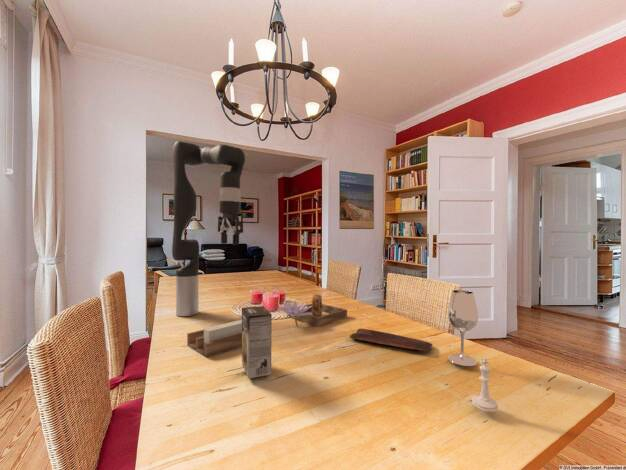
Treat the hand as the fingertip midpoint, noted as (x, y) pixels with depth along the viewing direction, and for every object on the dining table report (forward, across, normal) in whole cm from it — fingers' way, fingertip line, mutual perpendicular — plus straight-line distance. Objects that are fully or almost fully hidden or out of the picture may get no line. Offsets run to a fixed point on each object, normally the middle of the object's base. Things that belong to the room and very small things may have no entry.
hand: (229, 244), depth 111 cm
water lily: (+33, +13, +22) cm, 41 cm away
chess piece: (+31, +82, +14) cm, 89 cm away
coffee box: (+32, +34, -11) cm, 48 cm away
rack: (+32, +10, -7) cm, 35 cm away
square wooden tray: (+33, +11, +36) cm, 50 cm away
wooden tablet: (+31, +47, +38) cm, 68 cm away
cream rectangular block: (+31, +13, -7) cm, 35 cm away
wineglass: (+31, +71, +34) cm, 85 cm away
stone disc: (+33, +11, +36) cm, 50 cm away
